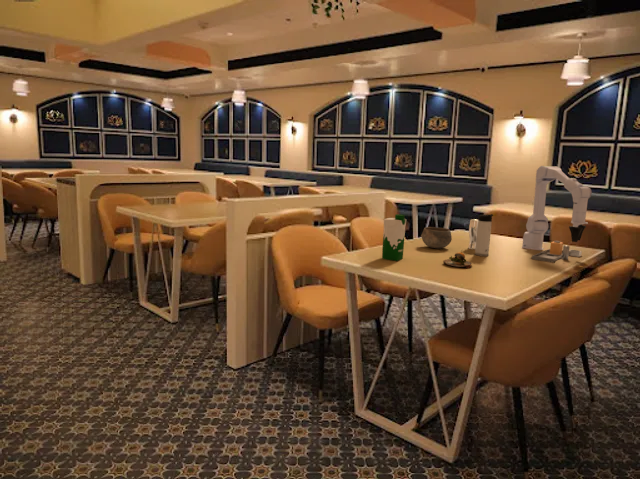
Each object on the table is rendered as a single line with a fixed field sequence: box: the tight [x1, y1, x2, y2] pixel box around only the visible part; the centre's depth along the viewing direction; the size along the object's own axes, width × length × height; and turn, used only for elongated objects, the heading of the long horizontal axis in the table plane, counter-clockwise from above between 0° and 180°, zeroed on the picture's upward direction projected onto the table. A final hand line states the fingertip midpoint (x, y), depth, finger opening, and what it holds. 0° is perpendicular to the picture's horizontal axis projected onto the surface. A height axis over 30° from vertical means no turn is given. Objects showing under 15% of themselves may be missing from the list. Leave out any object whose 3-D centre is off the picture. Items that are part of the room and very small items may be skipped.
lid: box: [531, 252, 562, 263], centre depth 237 cm, size 10×13×2 cm
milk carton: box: [381, 214, 407, 262], centre depth 221 cm, size 9×9×20 cm
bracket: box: [568, 248, 583, 258], centre depth 247 cm, size 5×5×3 cm
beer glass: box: [467, 218, 479, 251], centre depth 257 cm, size 7×7×15 cm
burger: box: [442, 250, 473, 270], centre depth 214 cm, size 12×12×8 cm
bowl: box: [420, 226, 453, 250], centre depth 255 cm, size 14×15×10 cm
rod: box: [561, 244, 571, 261], centre depth 236 cm, size 3×3×7 cm
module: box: [549, 240, 564, 255], centre depth 248 cm, size 4×4×7 cm
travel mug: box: [474, 213, 494, 257], centre depth 239 cm, size 6×7×20 cm
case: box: [539, 248, 563, 259], centre depth 248 cm, size 10×17×2 cm, turn 139°
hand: (576, 241), depth 235 cm, fingers open, 7 cm apart
